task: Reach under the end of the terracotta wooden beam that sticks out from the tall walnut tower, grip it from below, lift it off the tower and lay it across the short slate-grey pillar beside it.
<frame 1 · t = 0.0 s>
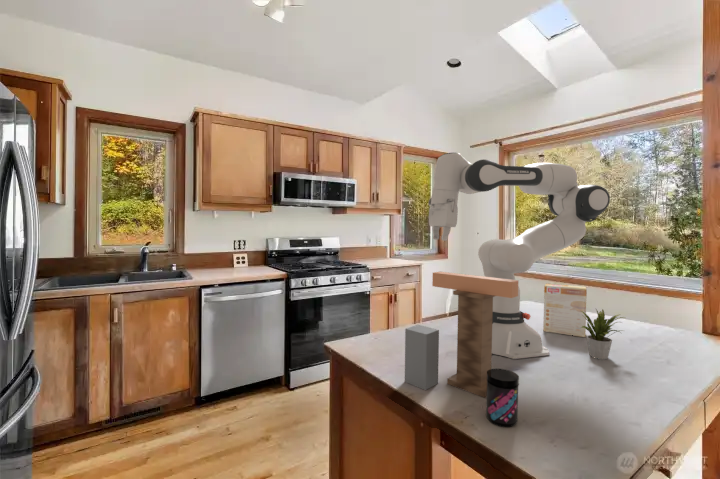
hand: (439, 240, 122), 39 cm above the table, tool pointing down, fingers open, 8 cm apart
house plant: (602, 358, 118), on the table
coffeecake box: (563, 332, 146), on the table
terracotta beam: (472, 290, 97), point 26 cm above the table, touching walnut tower
slate pillar: (421, 382, 98), on the table
walnut tower: (473, 385, 97), on the table
supplement container: (501, 420, 80), on the table
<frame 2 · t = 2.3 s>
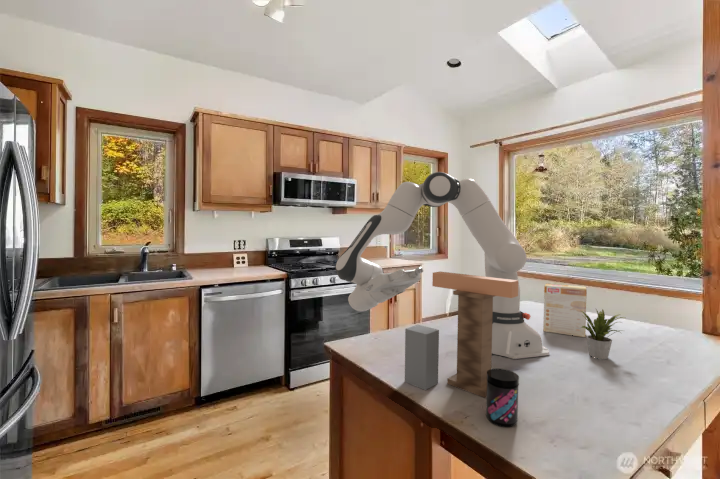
hand: (412, 270, 111), 30 cm above the table, tool pointing upward, fingers open, 8 cm apart
nothing on the table moved.
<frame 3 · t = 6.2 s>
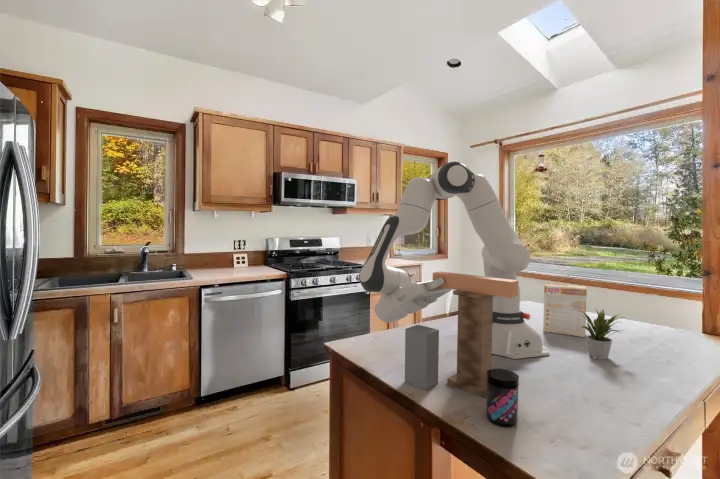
hand: (449, 278, 102), 28 cm above the table, tool pointing upward, fingers closed on terracotta beam, 4 cm apart
terracotta beam: (472, 290, 97), point 26 cm above the table, touching gripper, walnut tower
everything else where it was.
when the fingers open (19 cm above the table, at t = 14.4 s): terracotta beam drops 2 cm, resting on slate pillar.
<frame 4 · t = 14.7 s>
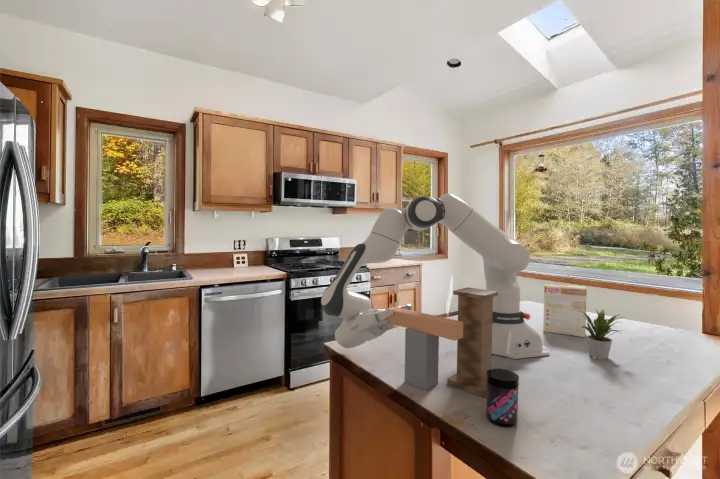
hand: (401, 308, 103), 19 cm above the table, tool pointing upward, fingers open, 7 cm apart
terracotta beam: (421, 329, 98), point 15 cm above the table, touching slate pillar
everything else where it was.
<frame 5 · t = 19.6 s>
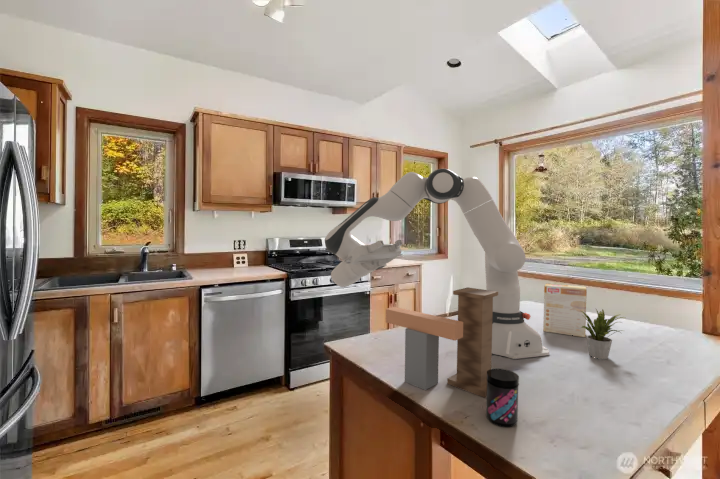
hand: (391, 242, 112), 38 cm above the table, tool pointing upward, fingers open, 8 cm apart
nothing on the table moved.
at the end: terracotta beam inside the target area on the slate pillar (0.1 cm from its centre), point 15.0 cm above the slate pillar's base; terracotta beam tilted 0°; the gripper is holding nothing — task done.
